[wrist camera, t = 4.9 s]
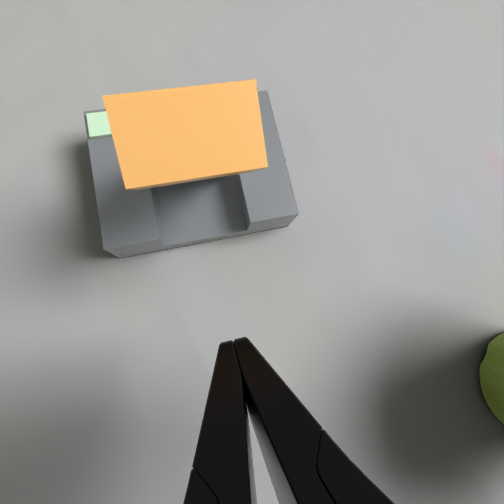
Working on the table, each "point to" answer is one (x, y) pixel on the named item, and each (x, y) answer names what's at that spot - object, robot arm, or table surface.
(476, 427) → the table surface
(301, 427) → the robot arm
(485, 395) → the plant pot
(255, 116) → the switch lever
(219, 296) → the table surface
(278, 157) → the switch housing
